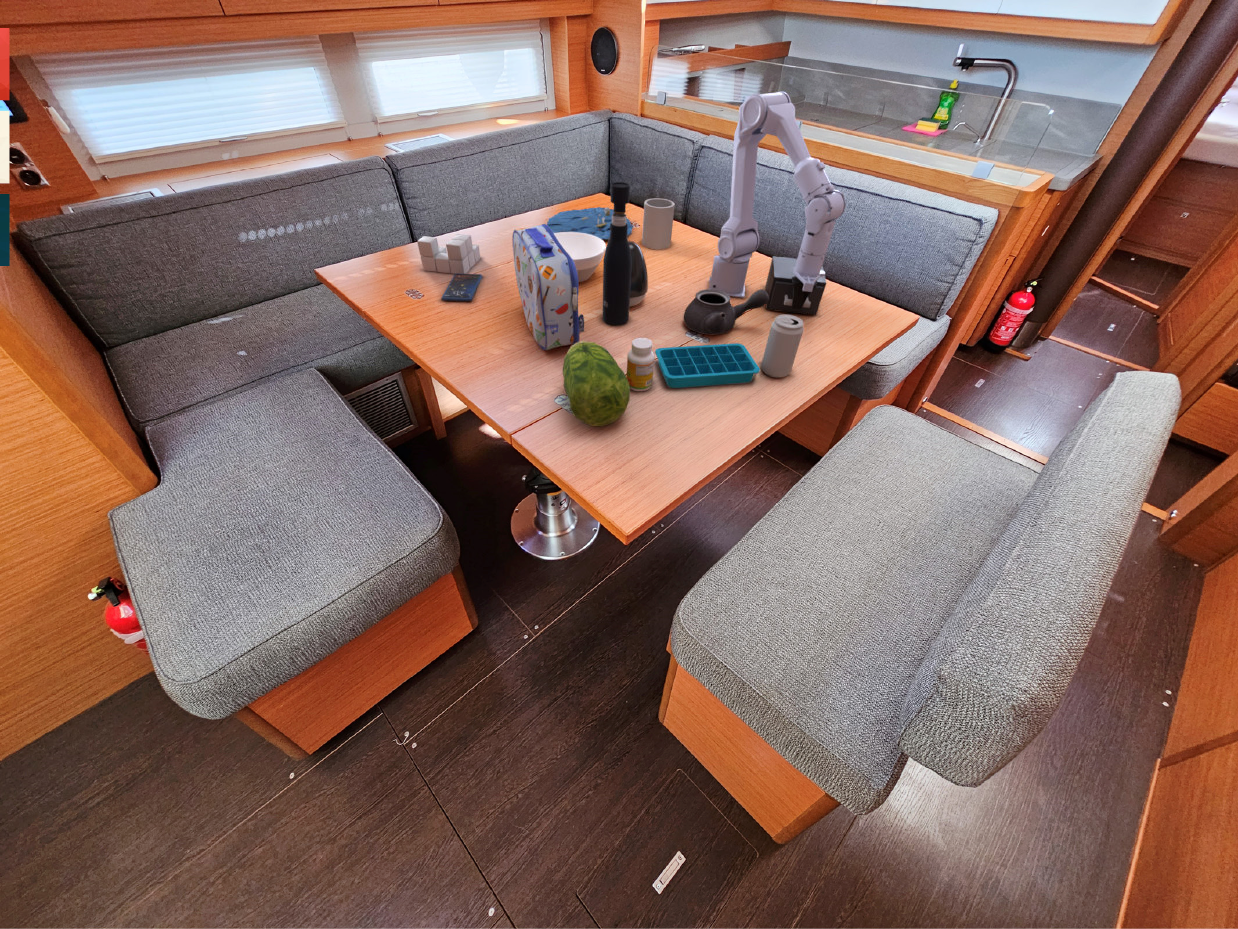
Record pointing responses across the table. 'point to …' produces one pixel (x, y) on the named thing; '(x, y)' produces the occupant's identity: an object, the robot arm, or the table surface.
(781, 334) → the beverage can
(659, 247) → the cup
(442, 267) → the puzzle cube
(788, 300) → the drawer
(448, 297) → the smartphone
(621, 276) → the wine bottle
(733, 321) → the teapot
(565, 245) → the bowl
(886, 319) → the table surface
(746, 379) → the ice cube tray
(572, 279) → the lunch box
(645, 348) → the supplement bottle
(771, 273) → the cabinet
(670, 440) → the table surface
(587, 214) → the blue sea diorama
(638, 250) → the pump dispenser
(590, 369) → the lettuce
